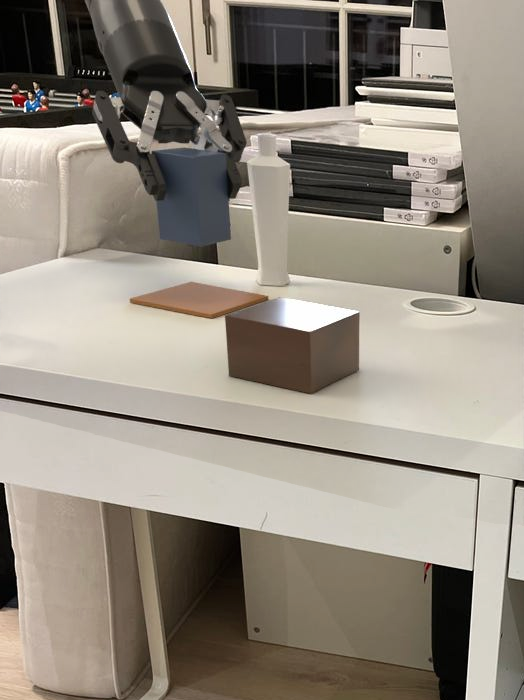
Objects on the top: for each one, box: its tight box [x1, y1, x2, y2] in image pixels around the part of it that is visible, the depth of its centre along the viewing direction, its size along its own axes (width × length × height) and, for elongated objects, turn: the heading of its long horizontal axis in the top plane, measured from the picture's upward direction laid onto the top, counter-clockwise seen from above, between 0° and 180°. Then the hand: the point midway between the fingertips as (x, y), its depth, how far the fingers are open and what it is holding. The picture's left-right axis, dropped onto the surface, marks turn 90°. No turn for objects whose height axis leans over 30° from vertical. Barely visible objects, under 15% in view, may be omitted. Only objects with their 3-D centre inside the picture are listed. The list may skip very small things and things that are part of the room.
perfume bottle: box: [246, 133, 291, 287], centre depth 107 cm, size 5×4×15 cm
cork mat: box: [129, 281, 269, 319], centre depth 102 cm, size 10×10×1 cm
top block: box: [151, 146, 232, 248], centre depth 97 cm, size 5×5×8 cm
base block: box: [224, 296, 360, 395], centre depth 82 cm, size 8×8×5 cm
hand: (198, 194), depth 95 cm, fingers closed on top block, 7 cm apart
